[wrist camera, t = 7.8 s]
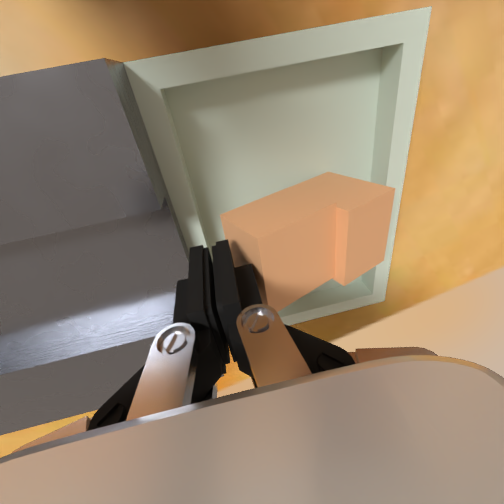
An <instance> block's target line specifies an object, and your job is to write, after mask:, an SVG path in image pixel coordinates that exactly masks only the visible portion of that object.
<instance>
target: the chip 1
mask: <svg viewBox="0 0 504 504" xmlns="http://www.w3.org/2000/svg"><path fill="white" fill-rule="evenodd" d="M220 218H221V222H222V226H223V231H224V235H225V239H226V240H227V239H228V241H229V246H230V250H231V254H232V258H233V262H234V266H235V267H239V266H244V265H248V264H251V265H252V268H253V272H254V275H255V279H256V282H257V286H258V289H259V293H260V296H261V300H262V303H263V304H265V305H269V306H271V307H272V308H274V309H275V310H276V312H278V311H280V310H282V309H283V308H285V307H286V306H288V305H290V304H291V303H293V302H295V301H296V300H298V299H299V298H301V297H303V296H304V295H306V294H308V293H309V292H311V291H312V290H314V289H316V288H317V287H319V286H321V285H322V284H324V283H325V282H327V281H329V280H330V279H332V278H334V277H335V242H336V202H335V201H332V200H329V199H326V198H323V197H320V196H317V195H314V194H311V193H308V192H305V191H302V190H299V189H296V188H293V187H288V188H285V189H283V190H280V191H278V192H275V193H273V194H270V195H268V196H265V197H263V198H260V199H258V200H255V201H253V202H250V203H248V204H245V205H243V206H240V207H238V208H235V209H233V210H230V211H228V212H225V213H223V214H220Z"/></svg>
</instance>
